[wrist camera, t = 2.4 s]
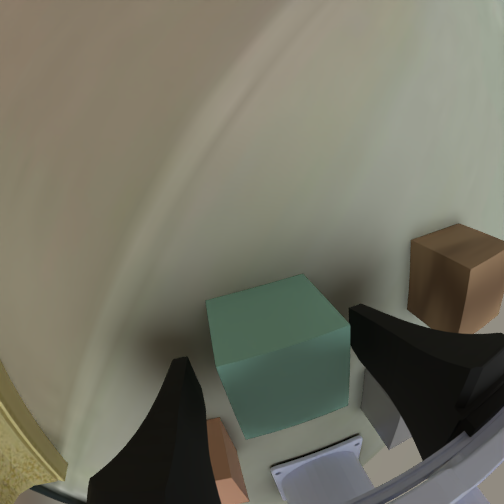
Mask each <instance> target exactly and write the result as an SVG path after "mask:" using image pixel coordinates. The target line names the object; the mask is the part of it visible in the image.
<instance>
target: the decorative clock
mask: <svg viewBox="0 0 504 504" xmlns="http://www.w3.org/2000/svg"><path fill="white" fill-rule="evenodd" d="M67 466H68V464H67V462H66V461H65V460H64V459H63V458H62V456H61V455H60V454H59V453H58V451H57V450H56V449H55V448H54V446H53V445H52V444H51V442H50V441H49V440H48V438H47V437H46V436H45V434H44V433H43V431H42V430H41V429H40V427H39V426H38V424H37V423H36V421H35V420H34V418H33V417H32V415H31V414H30V412H29V411H28V409H27V407H26V406H25V404H24V403H23V401H22V399H21V398H20V396H19V394H18V392H17V391H16V389H15V387H14V385H13V384H12V382H11V380H10V378H9V376H8V374H7V372H6V370H5V368H4V366H3V364H2V362H1V360H0V504H14V502H15V501H16V499H17V497H18V496H19V494H21V493H22V492H24V491H26V490H27V489H29V488H31V487H32V486H34V485H39V484H45V483H50V482H55V481H57V480H61V481H65V477H66V471H67Z"/></svg>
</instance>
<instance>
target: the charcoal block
mask: <svg viewBox="0 0 504 504" xmlns="http://www.w3.org/2000/svg"><path fill="white" fill-rule="evenodd" d="M361 409H362V411H363V412H364V414H365V415H366V417H367V418H368V420H369V421H370V423H371V424H372V426H373V427H374V428H375V430H376V431H377V433H378V434H379V436H380V437H381V439H382V440H383V442H384V443H385V445H386V446H387V448H388V449H389V450H390V449H391V448H393V447H395V446H397V445H399V444H400V443H402V442H404V441H405V440H407V439H409V438H411V437H412V436H411V434H410V432H409V430H408V428H407V426H406V424H405V422H404V420H403V419H402V417H401V415H400V413H399V412H398V410H397V408H396V407H395V405H394V404H393V402H392V400H391V399H390V397H389V396H388V394H387V393H386V392H385V390H384V389H383V388H382V387H381V386H380V384H379V383H378V382H377V381H376V380H375V378H374V377H373V376H372V375H371V374H370V372H369V371H368V370H367V369H365V375H364V385H363V395H362V403H361Z"/></svg>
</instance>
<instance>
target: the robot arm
mask: <svg viewBox="0 0 504 504" xmlns="http://www.w3.org/2000/svg"><path fill="white" fill-rule="evenodd" d="M349 324H350V345H351V347H352V349H353V350H354V352H355V354H356V355H357V357H358V359H359V360H360V361H361V363H362V364H363V365H364V366H365V367H366V369H367V370H368V371H369V372H370V374H371V375H372V376H373V377H374V378H375V380H376V381H377V382H378V383H379V384H380V386H381V387H382V388H383V389H384V390H385V392H386V393H387V394H388V396H389V397H390V399H391V400H392V402H393V404H394V405H395V407H396V408H397V410H398V412H399V413H400V415H401V417H402V419H403V420H404V422H405V424H406V426H407V428H408V430H409V432H410V434H411V436H412V437H413V439H414V442H415V444H416V446H417V448H418V451H419V453H420V455H421V458H422V460H423V461H422V462H420V463H419V464H417V465H416V466H414V467H413V468H411V469H409V470H408V471H406V472H404V473H402V474H401V475H399V476H397V477H395V478H394V479H392V480H390V481H388V482H386V483H384V484H382V485H380V486H379V487H376V488H374V486H373V484H372V482H371V481H370V479H369V477H368V476H367V474H366V472H365V471H364V469H363V467H362V465H361V464H360V462H359V460H358V459H359V454H360V450H361V445H362V440H363V438H362V437H361V436H360V435H358V436H355V437H353V438H351V439H348V440H346V441H344V442H341V443H339V444H337V445H334V446H332V447H329V448H327V449H324V450H321V451H319V452H316V453H313V454H311V455H308V456H305V457H302V458H299V459H296V460H293V461H290V462H286V463H283V464H280V465H276V466H273V467H272V468H271V469H270V470H271V473H272V476H273V478H274V480H275V483H276V485H277V487H278V490H279V492H280V494H281V497H282V499H283V500H284V501H286V500H287V502H288V504H385V503H386V502H388V501H390V500H392V499H394V498H396V497H397V496H399V495H401V494H403V493H404V492H406V491H408V490H409V489H411V488H413V487H414V486H416V485H418V484H419V483H421V482H422V481H424V480H425V479H427V478H428V480H427V481H425V482H423V483H422V484H421V485H419V486H417V487H416V488H414V489H412V490H411V491H409V492H407V493H406V494H404V495H402V496H400V497H399V498H397V499H395V500H393V501H392V502H390V503H388V504H490V503H489V501H488V500H487V499H486V497H485V496H484V495H483V494H482V492H481V491H480V490H479V488H478V487H477V485H479V484H480V483H481V482H482V481H483V480H484V479H485V478H486V477H487V476H489V475H490V474H491V473H492V472H493V471H494V470H495V469H496V468H497V467H498V466H499V465H500V464H501V463H502V462H503V461H504V334H502V333H491V334H462V333H453V332H446V331H440V330H435V329H431V328H426V327H423V326H419V325H416V324H413V323H410V322H407V321H404V320H401V319H398V318H396V317H393V316H390V315H388V314H385V313H383V312H381V311H378V310H376V309H373V308H371V307H368V306H365V305H363V304H359V305H356V306H353V307H350V308H349ZM87 504H222V503H221V500H220V497H219V493H218V489H217V486H216V482H215V478H214V474H213V469H212V465H211V460H210V454H209V445H208V433H207V420H206V408H205V403H204V398H203V393H202V388H201V386H200V384H199V382H198V379H197V377H196V375H195V373H194V371H193V368H192V366H191V364H190V362H189V359H188V357H187V356H186V357H181V358H177V359H173V361H172V363H171V365H170V368H169V370H168V373H167V375H166V378H165V380H164V382H163V385H162V387H161V389H160V391H159V394H158V396H157V398H156V400H155V402H154V404H153V405H152V407H151V409H150V411H149V413H148V415H147V416H146V418H145V420H144V421H143V423H142V424H141V426H140V427H139V429H138V430H137V432H136V433H135V434H134V436H133V437H132V438H131V440H130V441H129V442H128V443H127V445H126V446H125V447H124V448H123V449H122V450H121V451H120V452H119V453H118V455H117V456H116V457H115V458H114V459H112V460H111V461H110V462H109V463H108V464H107V465H106V466H105V467H104V468H102V469H101V470H100V471H99V472H98V473H96V474H95V475H94V476H93V477H91V478H90V480H89V485H88V494H87Z"/></svg>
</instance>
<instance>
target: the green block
mask: <svg viewBox="0 0 504 504" xmlns="http://www.w3.org/2000/svg"><path fill="white" fill-rule="evenodd" d="M206 308H207V315H208V321H209V328H210V334H211V341H212V347H213V353H214V359H215V365H216V369H217V371H218V374H219V376H220V379H221V381H222V384H223V386H224V389H225V391H226V394H227V396H228V399H229V401H230V404H231V406H232V409H233V411H234V413H235V416H236V418H237V420H238V423H239V425H240V427H241V430H242V432H243V434H244V436H245V439H246V440H247V439H251V438H255V437H258V436H262V435H266V434H269V433H272V432H276V431H279V430H282V429H286V428H289V427H292V426H295V425H298V424H301V423H304V422H306V421H309V420H312V419H315V418H318V417H320V416H323V415H325V414H328V413H331V412H333V411H336V410H338V409H340V408H343V407H345V406H348V398H349V377H350V324H349V323H348V322H347V321H346V320H345V318H344V317H343V316H342V315H341V314H340V313H339V312H338V311H337V310H336V309H335V308H334V307H333V305H332V304H331V303H330V302H329V301H328V300H327V299H326V298H325V297H324V296H323V295H322V294H321V293H320V292H319V290H318V289H317V288H316V287H315V286H314V285H313V284H312V283H311V282H310V281H309V280H308V279H307V278H306V277H305V276H304V274H300V275H297V276H293V277H290V278H286V279H283V280H279V281H276V282H272V283H269V284H265V285H262V286H258V287H254V288H251V289H247V290H243V291H240V292H236V293H232V294H229V295H225V296H221V297H217V298H213V299H210V300H206Z"/></svg>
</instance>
